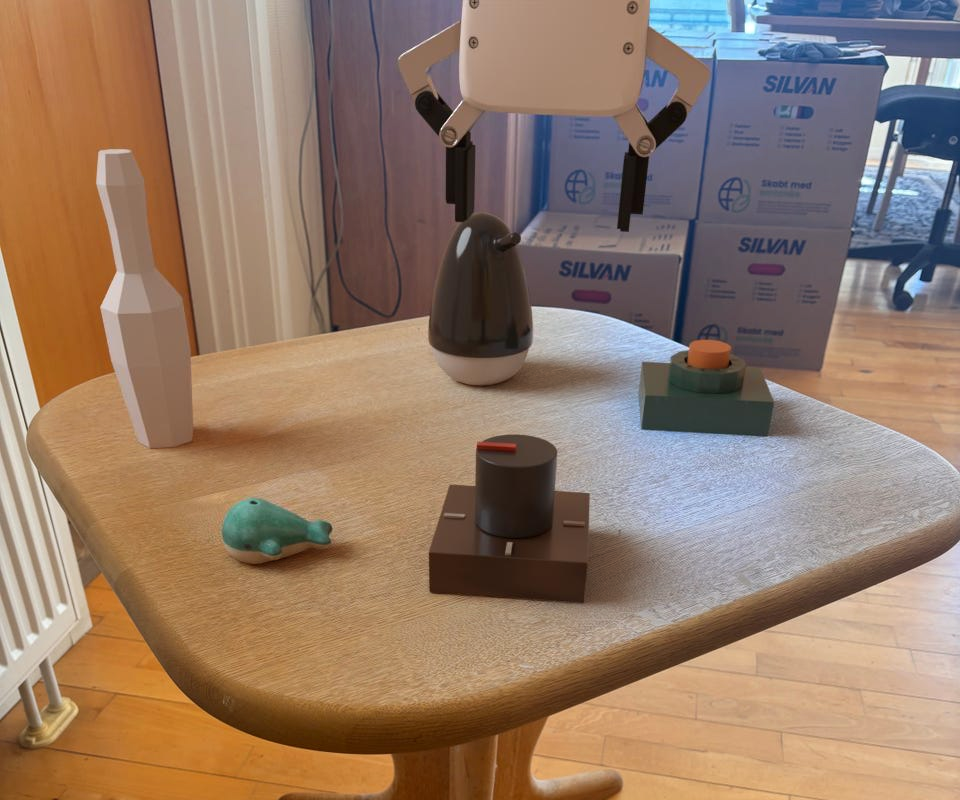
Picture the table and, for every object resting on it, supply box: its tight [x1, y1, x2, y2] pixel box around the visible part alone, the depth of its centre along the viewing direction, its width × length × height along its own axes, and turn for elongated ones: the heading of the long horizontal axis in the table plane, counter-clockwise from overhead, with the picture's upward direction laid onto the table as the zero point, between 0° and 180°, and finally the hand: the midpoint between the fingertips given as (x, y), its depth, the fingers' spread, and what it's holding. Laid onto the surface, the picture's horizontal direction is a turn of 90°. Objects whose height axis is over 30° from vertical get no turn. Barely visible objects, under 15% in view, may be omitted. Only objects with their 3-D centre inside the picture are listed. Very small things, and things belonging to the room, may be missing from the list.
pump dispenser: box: [427, 212, 534, 386], centre depth 92 cm, size 10×10×15 cm
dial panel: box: [428, 484, 591, 604], centre depth 65 cm, size 10×10×3 cm
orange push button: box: [687, 339, 732, 369], centre depth 86 cm, size 4×4×2 cm
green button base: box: [637, 349, 775, 438], centre depth 88 cm, size 11×9×5 cm
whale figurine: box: [221, 497, 333, 565], centre depth 66 cm, size 6×7×4 cm
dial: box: [474, 434, 558, 538], centre depth 63 cm, size 5×5×5 cm
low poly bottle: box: [95, 148, 194, 449], centre depth 76 cm, size 6×6×22 cm
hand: (543, 222), depth 58 cm, fingers open, 9 cm apart
